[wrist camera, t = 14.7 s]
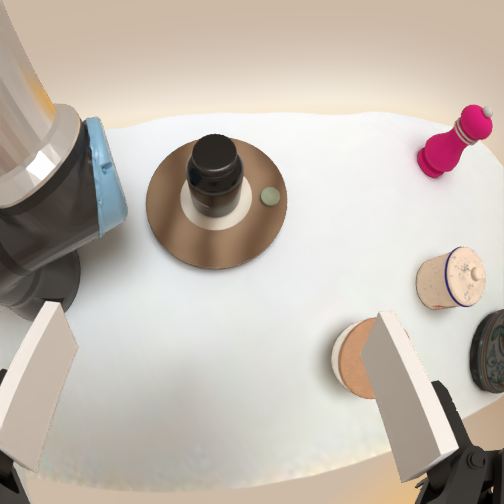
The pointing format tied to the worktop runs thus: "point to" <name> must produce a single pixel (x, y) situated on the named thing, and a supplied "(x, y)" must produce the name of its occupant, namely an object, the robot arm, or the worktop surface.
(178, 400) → the worktop surface
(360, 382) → the lidded jar
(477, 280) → the teacup with lid
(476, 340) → the beer stein
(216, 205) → the supplement bottle
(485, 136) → the pepper mill
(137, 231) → the worktop surface
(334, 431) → the worktop surface
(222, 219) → the stand
